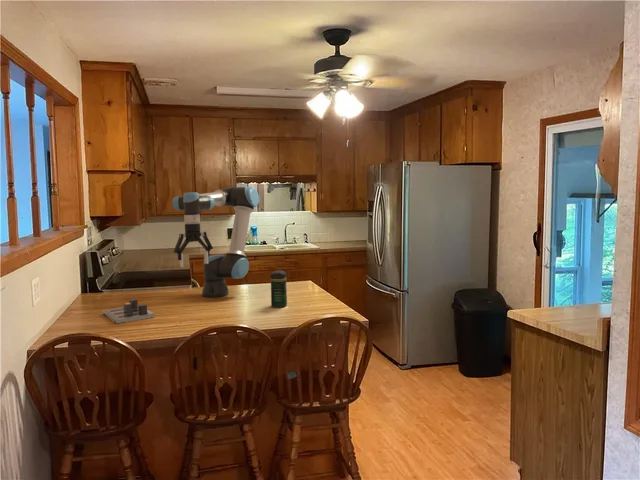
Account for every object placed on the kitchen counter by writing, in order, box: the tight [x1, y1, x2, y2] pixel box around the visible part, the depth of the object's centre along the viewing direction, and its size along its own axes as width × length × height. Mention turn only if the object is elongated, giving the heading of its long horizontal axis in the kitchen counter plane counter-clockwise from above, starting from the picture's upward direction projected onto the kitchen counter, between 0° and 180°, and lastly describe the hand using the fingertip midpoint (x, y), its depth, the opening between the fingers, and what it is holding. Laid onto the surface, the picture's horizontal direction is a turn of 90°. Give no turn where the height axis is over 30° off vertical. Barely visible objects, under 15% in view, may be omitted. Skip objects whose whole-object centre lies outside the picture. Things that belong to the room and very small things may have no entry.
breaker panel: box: [102, 298, 155, 324], centre depth 254 cm, size 24×18×6 cm
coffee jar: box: [270, 269, 288, 309], centre depth 266 cm, size 10×8×19 cm
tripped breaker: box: [122, 302, 132, 313], centre depth 254 cm, size 4×3×4 cm
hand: (194, 265), depth 259 cm, fingers open, 13 cm apart
